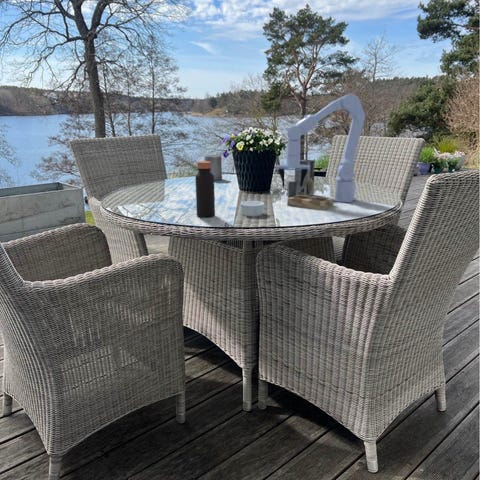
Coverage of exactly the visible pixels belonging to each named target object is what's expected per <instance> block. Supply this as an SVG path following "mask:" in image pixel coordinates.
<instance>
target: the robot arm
mask: <svg viewBox="0 0 480 480" xmlns="http://www.w3.org/2000/svg"><path fill="white" fill-rule="evenodd" d="M342 110H343V111H345V112H347V113H348V115H349V116H350V118H351V122H350V128H349V130H348V135H347V140H346V144H345V149H344V151H343V155H342V159H341V161H340V165H338V167H337V169H336V173H337V175H338V177H337V178H336V179H335V193H334V194H335V195H334V197H335V198H333V202H340V203H348V204H349V203H351V202H354V201H356V200H357V197H355V196H356V195H355V194H356V183H355V181H354V176H355V171H354V166H355V158H356V154H357V150H358V146H359V142H360V139H361V134H362V130H363V127H364V123H365V118H366V115H365V111H364V109H363V106H362V102H361V100H360V99H359V97H358V96H357V95H356V94H354V93H348V94H347V93H346V94H345V95H343V96H342V97H339V98H337V99H336V100H332V101H331V102H330V103H329V104H327V105H326V106H325V107H323V108H322V109H321V110H319V111H318V112H316V113H315V114H308V115H307V114H306V115H304V116H303V118H302V119H300V120H299V121H298V122H295V123H294V125H292V126H291V127H290V128H288V130H287V133H286V134H287V141H286V142H287V143H286V164H276V167H275V170H276V171H278V173H279V175H280V178H281V182H282V183H281V184H282V187H283V188H284V187H285V171H295V170H301V181H300V187H302V184H303V181H304V178H305V176H306V174H307V170H310V165H300V160H301V137H302V136H303V135H306V134H308V133H309V132H311V131H312V130H313V129H315V128H316V127H317V126H318V122H319V121H320V120H322V119H324V118H325V117H327V116H329V115H330V114H331V113H334V112H335V111H342ZM295 168H298V169H295Z"/></svg>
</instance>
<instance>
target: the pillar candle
mask: <svg viewBox="0 0 480 480" xmlns="http://www.w3.org/2000/svg"><path fill="white" fill-rule="evenodd" d="M204 161H209V162H211V169H210V172H211V173H212V174H213V175H214V182H215V181H216V182H217V181H221V180H222V179H223V172H222V171H223V170H222V169H223V168H222V167H223V166H222V164H223V163H222V155H221V154H220V155H219V154H208V155H207V154H206V155H204Z"/></svg>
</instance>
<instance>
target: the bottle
mask: <svg viewBox="0 0 480 480" xmlns="http://www.w3.org/2000/svg"><path fill="white" fill-rule="evenodd" d="M210 169H211V162H209V161H205V160H204V161H197V170H198V172H197V173H196V175H195V177H194V178H195V200H196V201H195V202H196V203H195V204H196V216H197V217H198V218H201V219H202V218H205V219H206V218H213V217H214V216H215V215H216V209H215V208H216V207H215V206H216V205H215V181H214V175H213V174H212V173H211V172H210Z"/></svg>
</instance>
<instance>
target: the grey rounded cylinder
mask: <svg viewBox="0 0 480 480" xmlns="http://www.w3.org/2000/svg"><path fill="white" fill-rule="evenodd" d="M287 183H288V185H287V188H288V189H287V199H288V198H290V197H293V196H296V188H297V182H296V180H295V179H289V181H288V182H287Z"/></svg>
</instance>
